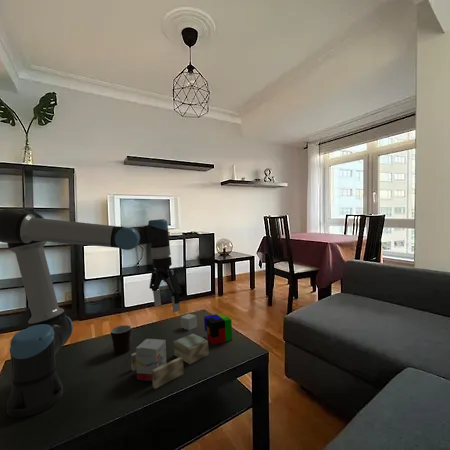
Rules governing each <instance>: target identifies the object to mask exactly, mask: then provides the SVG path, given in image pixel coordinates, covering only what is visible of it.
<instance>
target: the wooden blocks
mask: <svg viewBox="0 0 450 450" xmlns="http://www.w3.org/2000/svg"><path fill="white" fill-rule="evenodd" d="M173 354H174V356H175V357H176V358H175V359H173V360H170V361H169V362H166V364H164V365H162V366H160V367H158V368H156V369H153V370H152V379H153V381H152V388H153V389H154V390H156V389H158V388H159V387H161V386H164V385H165V384H167V383H169V382H171V381H172V380H173V381H174V380H175V379H176V378H178V377H180V376H182V375H184V372H185V369H184V362H185V363H187V364H188V365H191V364H193V363H195V362H198V361H199V360H201V359H203V358H205V357H207V356H209V340H208V339H207V338H204V337H202V336H200V335H197V334H195V333H191V334H188V335H185V336H183V337H181V338H178V339H176V340H174V341H173ZM130 360H131V361H130V363H131V371H132V372H135V371H137V368H136V352H133V353H131V354H130Z"/></svg>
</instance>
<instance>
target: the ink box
mask: <svg viewBox="0 0 450 450" xmlns="http://www.w3.org/2000/svg"><path fill="white" fill-rule="evenodd" d="M166 341H167V340H166V339H160V338H157V339H156V338H146V339H144V340H143V341H142V342H141V343H140V344H139V345H138V346H136V347H135V353H136V368H137V370H136V380H139V381H148V382H150V381H151V382H153V379H152V370H153V369H156V368H158V367H160V366H162V365H164V364H166V363H167V343H166Z"/></svg>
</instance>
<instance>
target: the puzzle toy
mask: <svg viewBox="0 0 450 450" xmlns="http://www.w3.org/2000/svg"><path fill="white" fill-rule="evenodd" d="M203 321H204V322H203V324H204V337H205V339H206V340H207V341H208V343H210V344H211V345H212V346H213V345H218V344H223V343H226V342H229V341H232V340H233V326H232V325H233V324H232V318H230V317H229V316H228V315H226V314H225V313H223V312H221V313H215V314H211V315H205V316H204V317H203Z"/></svg>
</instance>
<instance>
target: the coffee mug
mask: <svg viewBox="0 0 450 450" xmlns="http://www.w3.org/2000/svg"><path fill="white" fill-rule="evenodd" d="M131 331H132V326H131V325H125V324H123V325H119V326H118V325H117V326H116V327H112V329H110V335H111V341H112V342H111V343H112V348H113V352H114V353H113V354H115V355H117V356H119V355H124V354H126V353H128V352H130V348H131V333H132V332H131Z"/></svg>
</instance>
